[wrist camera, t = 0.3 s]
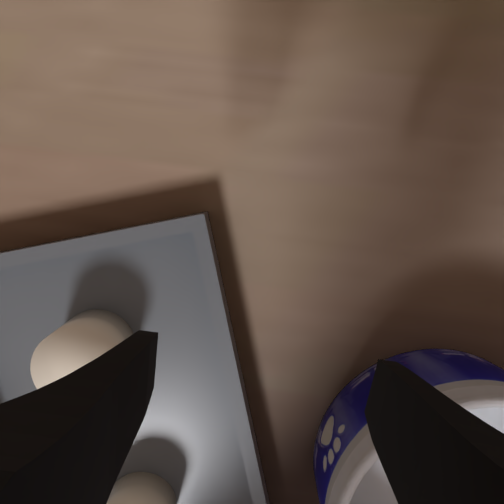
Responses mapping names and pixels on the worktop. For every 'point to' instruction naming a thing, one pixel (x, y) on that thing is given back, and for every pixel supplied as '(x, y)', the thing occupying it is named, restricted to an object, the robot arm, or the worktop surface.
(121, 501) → the pebble
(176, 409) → the parts tray
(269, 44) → the worktop surface
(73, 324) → the pebble
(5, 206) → the worktop surface
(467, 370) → the dog bowl
